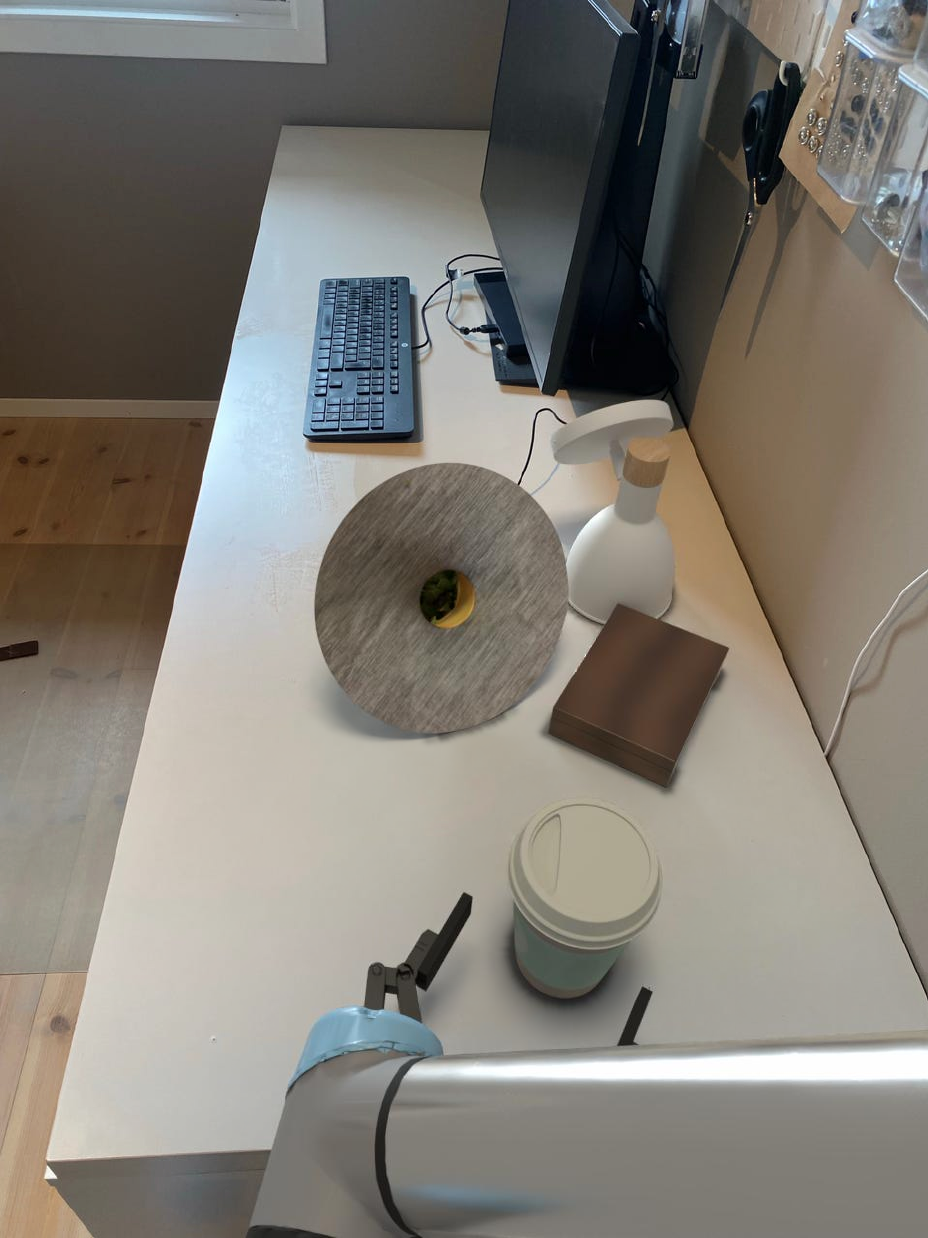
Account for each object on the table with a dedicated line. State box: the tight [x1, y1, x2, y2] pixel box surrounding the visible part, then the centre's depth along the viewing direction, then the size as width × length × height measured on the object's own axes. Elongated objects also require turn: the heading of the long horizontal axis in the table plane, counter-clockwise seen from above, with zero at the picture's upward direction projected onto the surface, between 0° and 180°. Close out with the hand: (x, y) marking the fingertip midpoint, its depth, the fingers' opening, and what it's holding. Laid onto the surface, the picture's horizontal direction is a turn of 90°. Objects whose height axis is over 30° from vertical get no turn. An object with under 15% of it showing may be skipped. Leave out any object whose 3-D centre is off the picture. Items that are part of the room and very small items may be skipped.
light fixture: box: [549, 399, 676, 625], centre depth 95 cm, size 13×21×20 cm
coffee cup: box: [506, 797, 663, 999], centre depth 66 cm, size 11×11×15 cm
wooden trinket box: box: [547, 603, 730, 788], centre depth 88 cm, size 12×16×4 cm
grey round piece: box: [313, 462, 569, 734], centre depth 89 cm, size 25×18×25 cm
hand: (552, 948), depth 63 cm, fingers open, 13 cm apart
